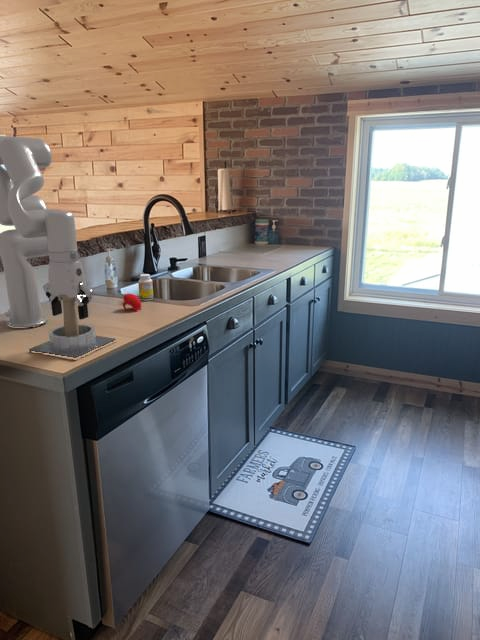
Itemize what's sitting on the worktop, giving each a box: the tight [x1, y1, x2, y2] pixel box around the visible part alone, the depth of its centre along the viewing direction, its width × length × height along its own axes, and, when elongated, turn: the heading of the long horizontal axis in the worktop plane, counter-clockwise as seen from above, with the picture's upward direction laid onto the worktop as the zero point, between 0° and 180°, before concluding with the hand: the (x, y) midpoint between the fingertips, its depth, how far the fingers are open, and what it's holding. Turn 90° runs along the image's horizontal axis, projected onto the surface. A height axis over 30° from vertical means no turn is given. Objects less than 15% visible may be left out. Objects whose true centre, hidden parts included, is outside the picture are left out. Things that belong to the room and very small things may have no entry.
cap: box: [122, 293, 142, 312], centre depth 178 cm, size 8×6×6 cm
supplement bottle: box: [137, 273, 154, 302], centre depth 192 cm, size 6×6×10 cm
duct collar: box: [28, 323, 117, 358], centre depth 138 cm, size 17×17×5 cm
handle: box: [58, 294, 79, 336], centre depth 137 cm, size 5×6×15 cm
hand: (70, 316), depth 136 cm, fingers open, 9 cm apart
